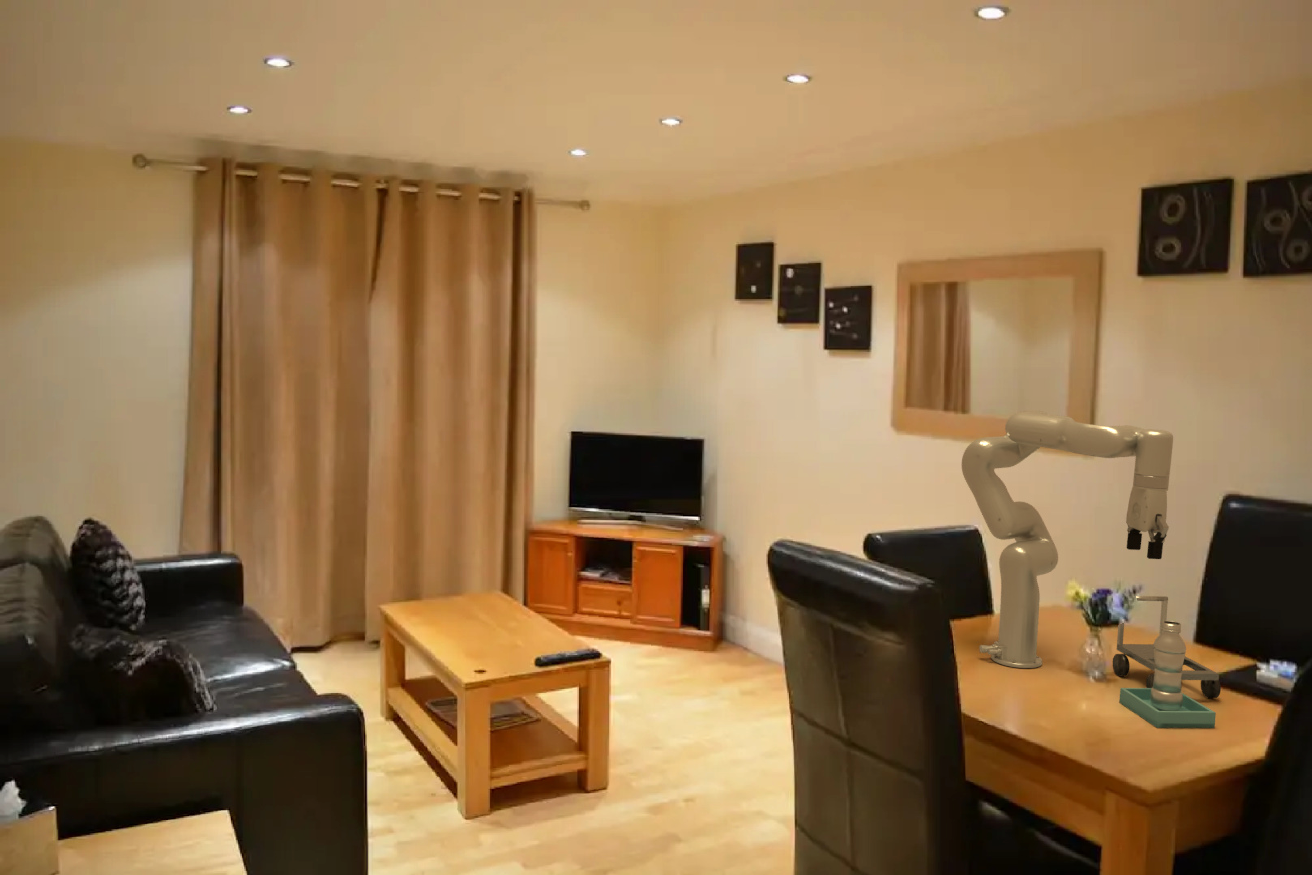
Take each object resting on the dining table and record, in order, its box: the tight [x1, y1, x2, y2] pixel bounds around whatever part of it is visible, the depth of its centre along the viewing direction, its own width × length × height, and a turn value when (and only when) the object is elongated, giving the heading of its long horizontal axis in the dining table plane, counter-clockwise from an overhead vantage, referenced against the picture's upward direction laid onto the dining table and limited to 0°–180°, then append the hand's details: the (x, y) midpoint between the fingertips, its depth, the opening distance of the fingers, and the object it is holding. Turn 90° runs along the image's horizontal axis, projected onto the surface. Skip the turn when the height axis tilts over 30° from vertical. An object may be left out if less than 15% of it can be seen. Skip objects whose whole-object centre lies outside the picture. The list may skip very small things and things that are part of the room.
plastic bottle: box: [1150, 620, 1187, 711], centre depth 230 cm, size 6×7×20 cm
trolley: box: [1112, 595, 1222, 699], centre depth 251 cm, size 15×24×20 cm, turn 4°
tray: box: [1118, 687, 1217, 729], centre depth 231 cm, size 13×16×4 cm
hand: (1143, 553), depth 243 cm, fingers open, 9 cm apart
